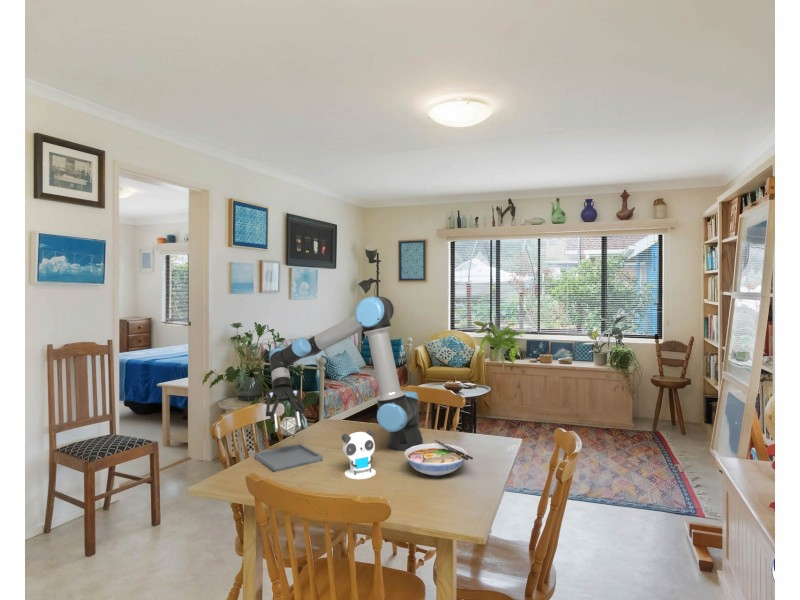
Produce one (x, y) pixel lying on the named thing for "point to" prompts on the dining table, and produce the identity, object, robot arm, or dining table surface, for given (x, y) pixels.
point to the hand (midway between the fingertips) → (288, 428)
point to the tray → (288, 457)
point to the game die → (288, 426)
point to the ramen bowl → (436, 458)
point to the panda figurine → (359, 454)
